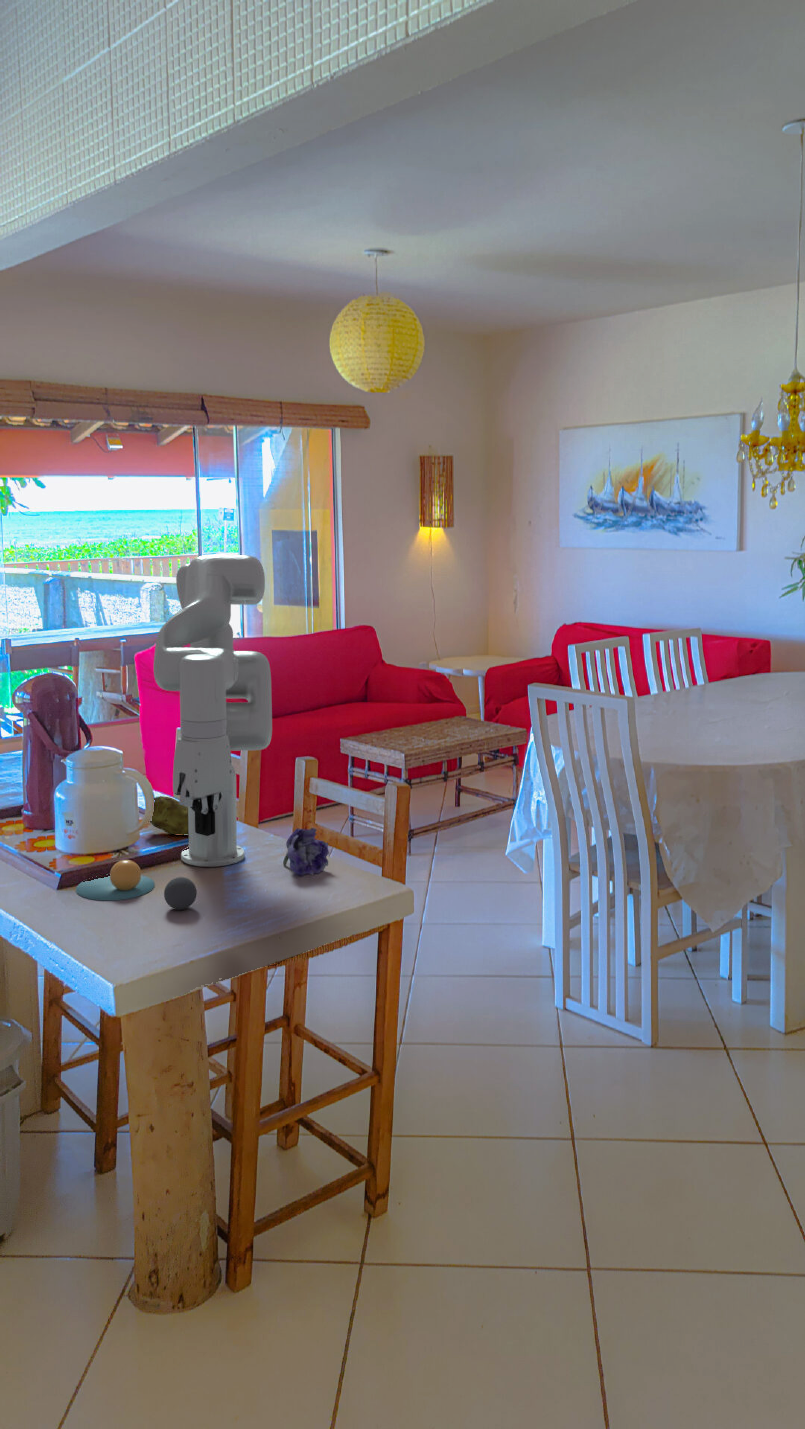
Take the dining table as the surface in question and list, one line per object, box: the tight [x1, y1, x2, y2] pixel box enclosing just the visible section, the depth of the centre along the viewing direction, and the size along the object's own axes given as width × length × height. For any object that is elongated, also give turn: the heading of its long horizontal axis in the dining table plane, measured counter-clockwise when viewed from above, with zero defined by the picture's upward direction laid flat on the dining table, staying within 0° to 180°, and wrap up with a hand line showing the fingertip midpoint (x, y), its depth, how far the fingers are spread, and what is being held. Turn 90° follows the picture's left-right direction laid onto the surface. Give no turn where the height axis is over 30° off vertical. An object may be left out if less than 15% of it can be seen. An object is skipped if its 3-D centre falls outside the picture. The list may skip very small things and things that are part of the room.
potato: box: [149, 795, 188, 835], centre depth 230 cm, size 8×13×8 cm, turn 71°
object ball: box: [109, 859, 142, 891], centre depth 196 cm, size 6×6×6 cm
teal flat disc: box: [75, 874, 156, 902], centre depth 197 cm, size 14×14×1 cm
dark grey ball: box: [163, 876, 198, 911], centre depth 187 cm, size 6×6×6 cm
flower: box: [282, 827, 330, 877], centre depth 208 cm, size 9×9×10 cm
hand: (205, 833), depth 182 cm, fingers closed
